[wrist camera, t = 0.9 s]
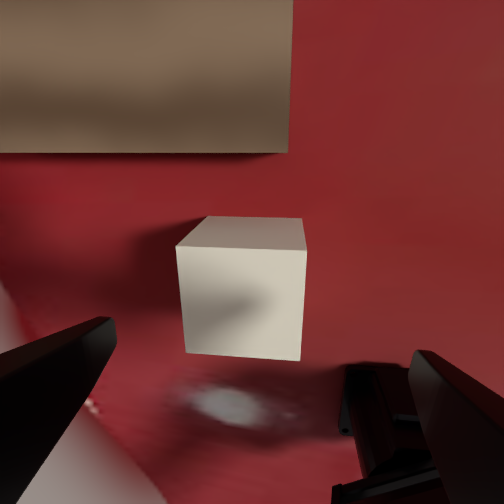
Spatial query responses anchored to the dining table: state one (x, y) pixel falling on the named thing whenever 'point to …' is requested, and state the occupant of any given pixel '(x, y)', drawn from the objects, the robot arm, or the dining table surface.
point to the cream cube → (243, 287)
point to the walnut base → (145, 76)
